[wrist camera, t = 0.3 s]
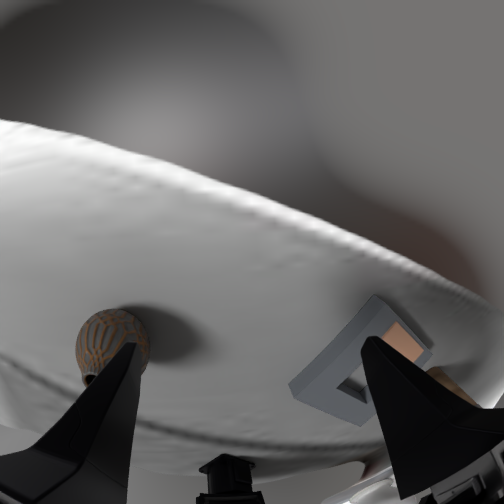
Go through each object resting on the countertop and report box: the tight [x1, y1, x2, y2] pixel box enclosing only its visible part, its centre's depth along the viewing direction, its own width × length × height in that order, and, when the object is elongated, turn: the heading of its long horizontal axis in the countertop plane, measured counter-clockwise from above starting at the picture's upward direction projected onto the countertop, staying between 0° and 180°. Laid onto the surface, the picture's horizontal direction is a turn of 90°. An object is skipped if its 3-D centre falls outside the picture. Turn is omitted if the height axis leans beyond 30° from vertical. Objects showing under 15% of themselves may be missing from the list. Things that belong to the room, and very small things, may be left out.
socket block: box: [289, 295, 433, 427], centre depth 29 cm, size 14×14×3 cm
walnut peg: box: [426, 367, 482, 408], centre depth 28 cm, size 5×5×13 cm
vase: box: [75, 309, 150, 388], centre depth 21 cm, size 7×7×9 cm
